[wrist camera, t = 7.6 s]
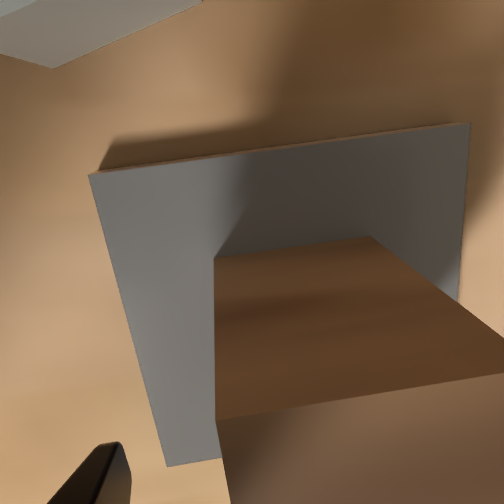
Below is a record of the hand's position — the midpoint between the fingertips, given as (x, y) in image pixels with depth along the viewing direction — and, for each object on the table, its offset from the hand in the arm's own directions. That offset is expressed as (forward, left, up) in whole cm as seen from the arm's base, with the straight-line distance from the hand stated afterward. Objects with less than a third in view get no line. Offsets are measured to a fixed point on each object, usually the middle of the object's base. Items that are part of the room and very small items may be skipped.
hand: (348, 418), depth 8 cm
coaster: (0, 0, -5) cm, 5 cm away
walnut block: (0, 0, -4) cm, 4 cm away
